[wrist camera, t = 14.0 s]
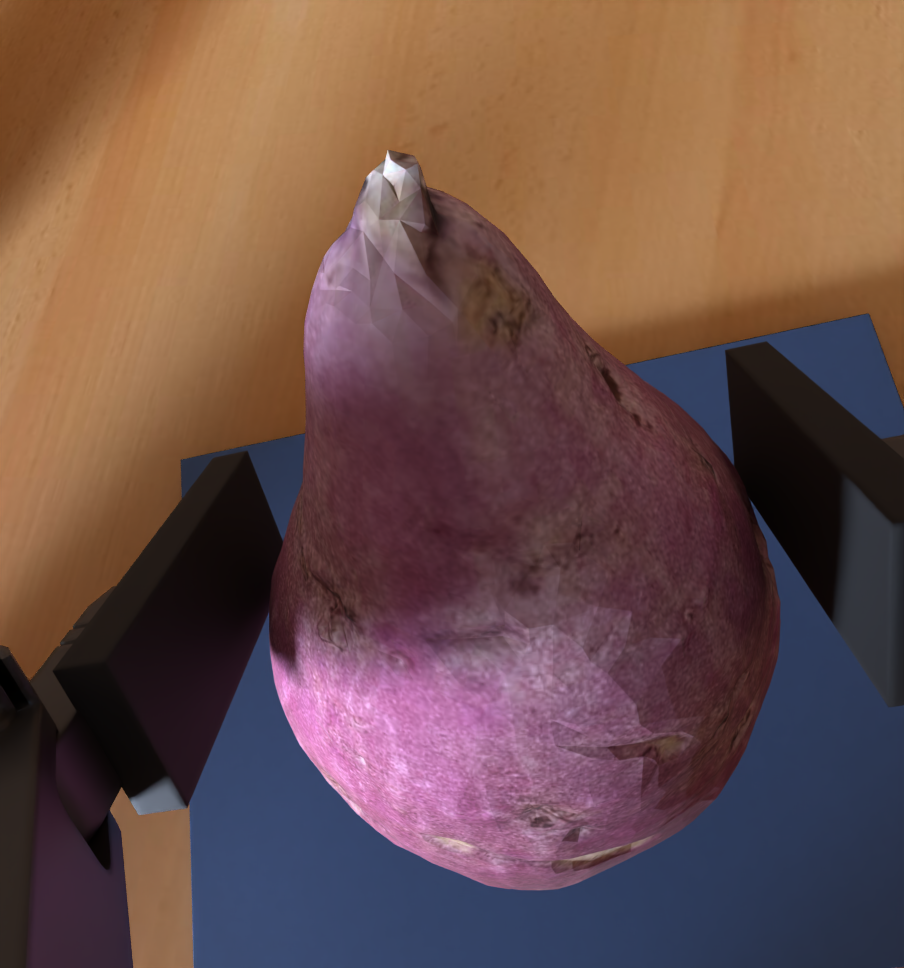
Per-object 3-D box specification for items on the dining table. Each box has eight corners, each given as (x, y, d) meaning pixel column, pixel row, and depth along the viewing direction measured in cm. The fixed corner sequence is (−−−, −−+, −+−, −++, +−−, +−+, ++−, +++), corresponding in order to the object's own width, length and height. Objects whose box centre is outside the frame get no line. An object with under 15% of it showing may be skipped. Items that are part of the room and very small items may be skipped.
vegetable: (404, 493, 24) (79, -16, 12) (763, 494, 20) (824, -227, 8) (314, 863, 18) (-447, 629, 6) (778, 949, 15) (1013, 796, 3)
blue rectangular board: (865, 318, 25) (869, 312, 24) (1093, 943, 19) (1102, 947, 19) (185, 462, 28) (180, 459, 28) (201, 1032, 22) (194, 1037, 22)
